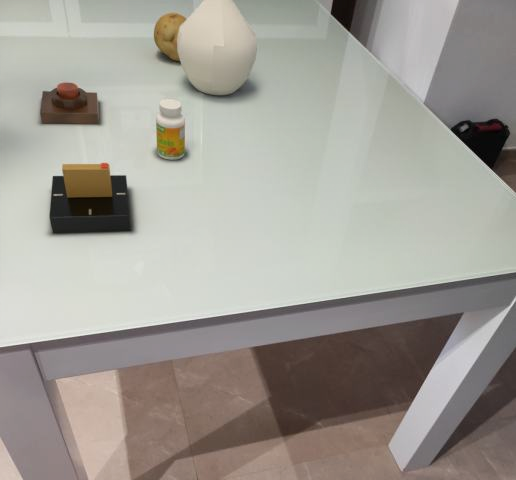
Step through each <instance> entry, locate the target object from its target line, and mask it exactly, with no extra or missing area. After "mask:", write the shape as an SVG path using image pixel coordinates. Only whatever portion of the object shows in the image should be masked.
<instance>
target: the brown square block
mask: <svg viewBox="0 0 516 480" xmlns="http://www.w3.org/2000/svg"><path fill="white" fill-rule="evenodd" d="M78 93H79V96H78V97H74V98H63V97H59V96H58V90H57V87H55V88H52V89H51V90H47V91H46V90H42V95H41V103H40V110H39V115H40V120H41V123H42V124H55V125H56V124H59V125H60V124H63V125H64V124H67V125H100V117H99V116H100V115H99V114H100V113H99V98H98V97H99V96H98V92H94V91H93V92H87V91H86V90H84V89H83V88H81V87H78Z"/></svg>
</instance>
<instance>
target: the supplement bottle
mask: <svg viewBox="0 0 516 480" xmlns="http://www.w3.org/2000/svg"><path fill="white" fill-rule="evenodd" d="M158 106H159V108H158V109H159V113H157V114H156V118H155V122H156V123H155V124H156V125H155V128H156V129H155V130H156V131H155V132H156V153H157V155H158V156H159V157H161V158H162V159H164V160H165V159H166V160H172V161H173V160H174V161H175V160H179V159H182V158H183V157H184V156H185V151H186V148H185V147H186V119H185V116H184V115H183V114H182V111H183V110H182V102H180V101H178V100H177V99H173V98H172V99H171V98H167V99H162V100H160V101H159V105H158Z"/></svg>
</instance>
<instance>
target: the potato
mask: <svg viewBox="0 0 516 480" xmlns="http://www.w3.org/2000/svg"><path fill="white" fill-rule="evenodd" d="M186 19H187V18H186V17H185V16H184V15H182V14H179V13H178V12H169V13H166V14H163V15H161V16H160V17H159V18H158V20H157V21H156V23H155V25H154V29H153V40H154V43H155V45H156V47H157V49H158V50H159V51H160V52H161V53H162V54H164V55H166V56H167V57H168V58H170V59H171V60H173V61H177V62H180V58H179V55H178V52H177V37H178V33H179V28H180V26H181V25H182V24H183V23H184V22H185V21H186Z"/></svg>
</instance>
